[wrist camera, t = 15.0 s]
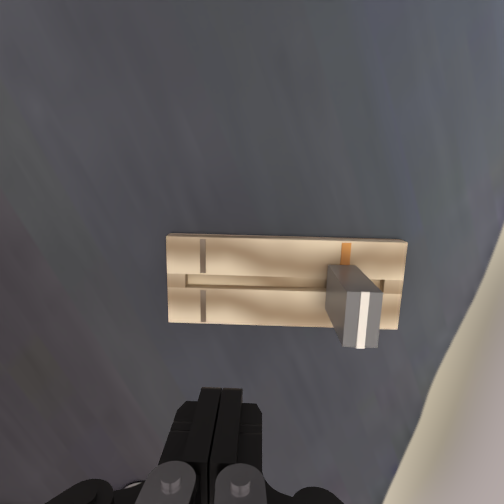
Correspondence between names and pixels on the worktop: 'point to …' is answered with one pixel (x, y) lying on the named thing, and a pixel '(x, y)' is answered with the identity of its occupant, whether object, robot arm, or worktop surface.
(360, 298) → the fader knob
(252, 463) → the robot arm
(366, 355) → the worktop surface
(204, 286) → the fader board
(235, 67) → the worktop surface
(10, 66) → the worktop surface
